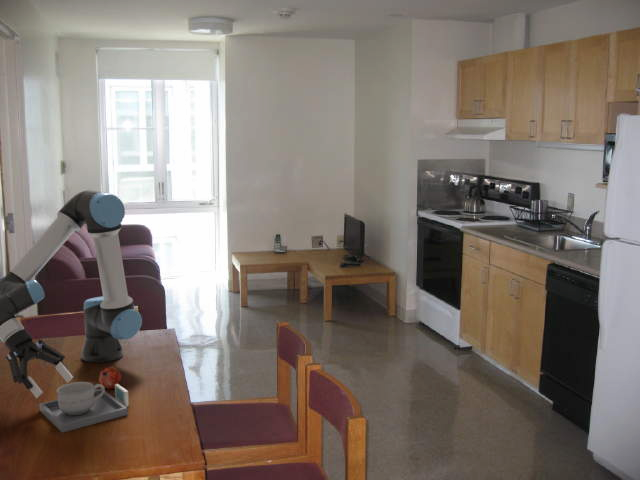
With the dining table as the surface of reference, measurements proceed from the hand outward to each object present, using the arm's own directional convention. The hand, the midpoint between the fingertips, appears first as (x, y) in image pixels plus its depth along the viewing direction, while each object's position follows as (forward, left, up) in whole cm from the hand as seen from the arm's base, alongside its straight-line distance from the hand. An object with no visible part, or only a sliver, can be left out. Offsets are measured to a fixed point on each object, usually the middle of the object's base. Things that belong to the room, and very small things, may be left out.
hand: (55, 387), depth 216 cm
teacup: (-5, +9, -6) cm, 12 cm away
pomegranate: (-20, -6, -7) cm, 22 cm away
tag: (-18, +9, -7) cm, 21 cm away
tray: (-5, +9, -7) cm, 12 cm away
